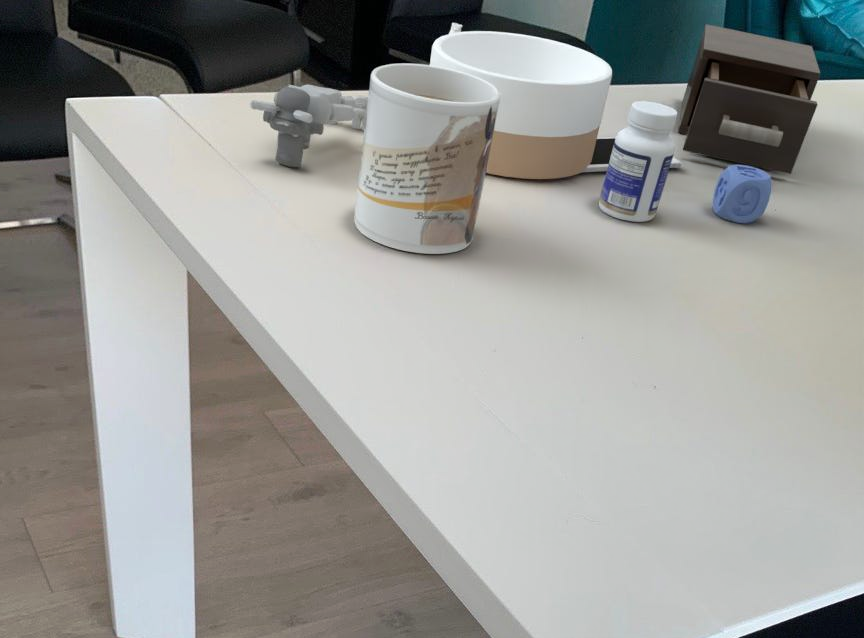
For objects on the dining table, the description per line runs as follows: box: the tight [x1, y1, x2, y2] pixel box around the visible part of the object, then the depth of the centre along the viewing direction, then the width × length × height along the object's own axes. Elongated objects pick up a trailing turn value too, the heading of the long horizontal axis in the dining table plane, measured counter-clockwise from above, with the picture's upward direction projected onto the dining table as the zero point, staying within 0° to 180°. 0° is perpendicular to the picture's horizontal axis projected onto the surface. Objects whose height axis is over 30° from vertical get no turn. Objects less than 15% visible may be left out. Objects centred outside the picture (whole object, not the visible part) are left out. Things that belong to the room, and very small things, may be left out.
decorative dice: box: [712, 164, 773, 224], centre depth 96 cm, size 4×4×4 cm
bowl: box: [429, 30, 613, 180], centre depth 99 cm, size 17×17×8 cm
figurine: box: [249, 83, 368, 168], centre depth 94 cm, size 7×6×18 cm
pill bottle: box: [598, 100, 678, 223], centre depth 91 cm, size 5×5×9 cm
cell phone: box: [582, 136, 682, 173], centre depth 104 cm, size 8×16×1 cm, turn 118°
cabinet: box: [677, 24, 821, 136], centre depth 118 cm, size 15×13×9 cm
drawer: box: [682, 59, 818, 175], centre depth 108 cm, size 18×11×7 cm, turn 165°
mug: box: [353, 62, 501, 255], centre depth 80 cm, size 10×12×11 cm
